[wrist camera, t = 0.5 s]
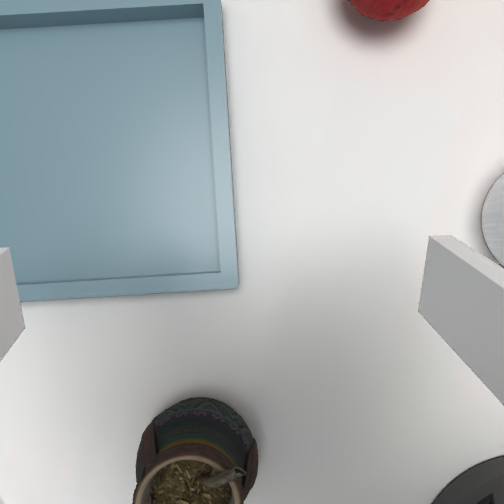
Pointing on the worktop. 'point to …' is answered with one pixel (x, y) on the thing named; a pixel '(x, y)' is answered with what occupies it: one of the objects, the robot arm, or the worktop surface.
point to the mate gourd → (196, 456)
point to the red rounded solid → (387, 8)
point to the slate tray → (115, 148)
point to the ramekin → (494, 220)
